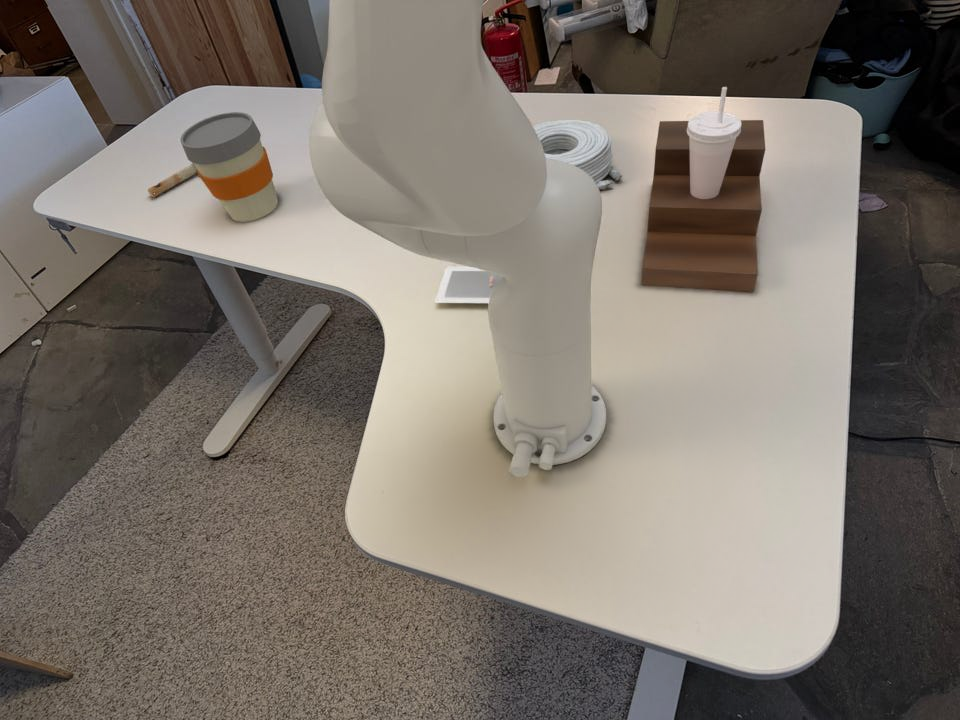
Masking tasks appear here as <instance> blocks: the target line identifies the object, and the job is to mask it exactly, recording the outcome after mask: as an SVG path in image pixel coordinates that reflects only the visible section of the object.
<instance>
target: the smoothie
mask: <svg viewBox="0 0 960 720" xmlns="http://www.w3.org/2000/svg"><path fill="white" fill-rule="evenodd" d="M727 91H728V87H727V86H722V87H721V92H720V100H719V106H718V111H707V112H702V113H699V114H697V115H694V116H693V117H691V118H690V119H689V120H688V121H689V122H688V127H687V134H688V135H689V147H690V193H691V194H692V196H694V197H696V198H699V199H711V198H714V197H716V196H717V195H718V194H719V191H720V188H721V185H722V182H723V178H724V175H725V172H726V169H727V166H728V162H729V159H730V156H731V153H732V150H733V147H734V143H735V140H736V137H737V136H738V135H739V134H740V132H741V124H742V123H741V120H742V119H740V118H739V117H738V116H737V115H735V114H732V113H729V112H726V111H725V103H726V97H727ZM724 111H725V112H724Z"/></svg>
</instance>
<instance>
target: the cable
mask: <svg viewBox="0 0 960 720" xmlns="http://www.w3.org/2000/svg"><path fill="white" fill-rule="evenodd" d="M532 126H533V128H534V130H535V132H536V134H537V136H538V137H539V139H540V141H541V144H542V147H543V150H544V154H545V158H549V159H555V160H559V161H562V162H565V163H569V164H571V165H574V166H576V167H578V168H580V169H582V170H583V171H585V172H586V173H587V174H588V175H590V176H591V177H592V178H593V180H594V181H595V182H596V184H597V186H598V188H599V190H606V189H607V188H608V187H609V186H610V185H613V183H614V182H613V180H614V181H616V182H619V181H620V180H621V179H622V177H623V175H622V174H621V173H619V171H617V170H616V169H614V168H612V164H613V151H612V150H613V149H612V140H611V137H610V135H609V134H608V132H607V130H606V129H605V128H603V127H602V126H601V125H599V124H597V123H595V122H592V121H588V120H582V119H580V120H579V119H556V120H555V119H554V120H549V121H544V122H541V123H538V124H536V125H532ZM608 175H609V176H610V177H611V178H612V179H613V180H612V179H610V180H609V179H606V180H604V179H605V178H606V177H607V176H608Z"/></svg>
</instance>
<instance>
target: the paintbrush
mask: <svg viewBox="0 0 960 720" xmlns="http://www.w3.org/2000/svg"><path fill="white" fill-rule="evenodd" d="M194 174H197V168H196V167H195V165H194V164H193V163H192V162H191V164H189V165H187V166H185V167H184V168H182V169H180V170H179V171H177V172H175V173H173V174H172V175H171V176H168V177H167V178H165V179H164V180H161V181H160V182H158V183H157V184H156V185H153V186H151V187H150V188H148V189H147V192H148V194H149V195H150V197H152V198H156V197H158V196H159V195H161V194H162V193H163V192H166V191H168V190H170V189H171V188H173V187H174V186H176V185H177V184H180V183H181V182H182V181H184V180H186V179H188V178H189V177H191V176H193V175H194ZM154 193H155V194H154Z"/></svg>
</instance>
